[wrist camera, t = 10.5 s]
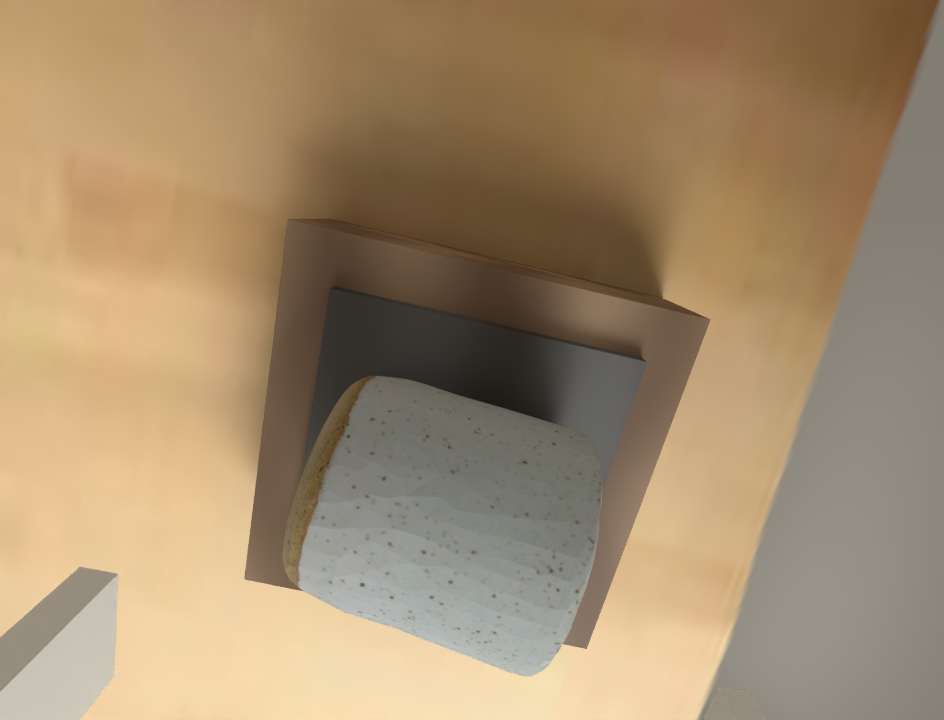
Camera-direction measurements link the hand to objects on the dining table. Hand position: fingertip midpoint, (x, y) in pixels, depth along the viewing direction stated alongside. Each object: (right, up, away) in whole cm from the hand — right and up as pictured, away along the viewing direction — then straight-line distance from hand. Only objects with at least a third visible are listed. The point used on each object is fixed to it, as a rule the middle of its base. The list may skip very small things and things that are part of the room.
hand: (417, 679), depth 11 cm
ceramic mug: (0, +2, +9) cm, 10 cm away
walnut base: (+1, +4, +14) cm, 15 cm away
